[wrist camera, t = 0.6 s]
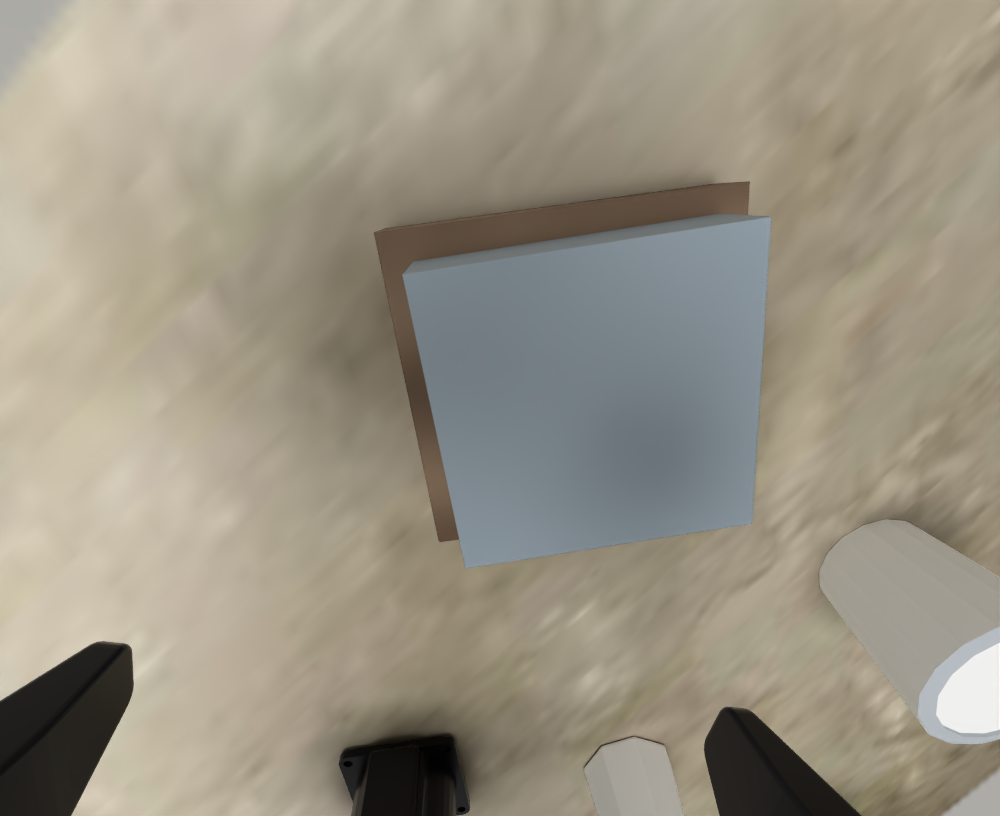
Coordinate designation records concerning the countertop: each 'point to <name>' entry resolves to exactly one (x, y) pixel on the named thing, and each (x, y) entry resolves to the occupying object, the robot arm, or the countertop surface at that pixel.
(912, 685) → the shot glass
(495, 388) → the tower top
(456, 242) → the tower base
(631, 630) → the countertop surface
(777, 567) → the countertop surface
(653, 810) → the pepper shaker
